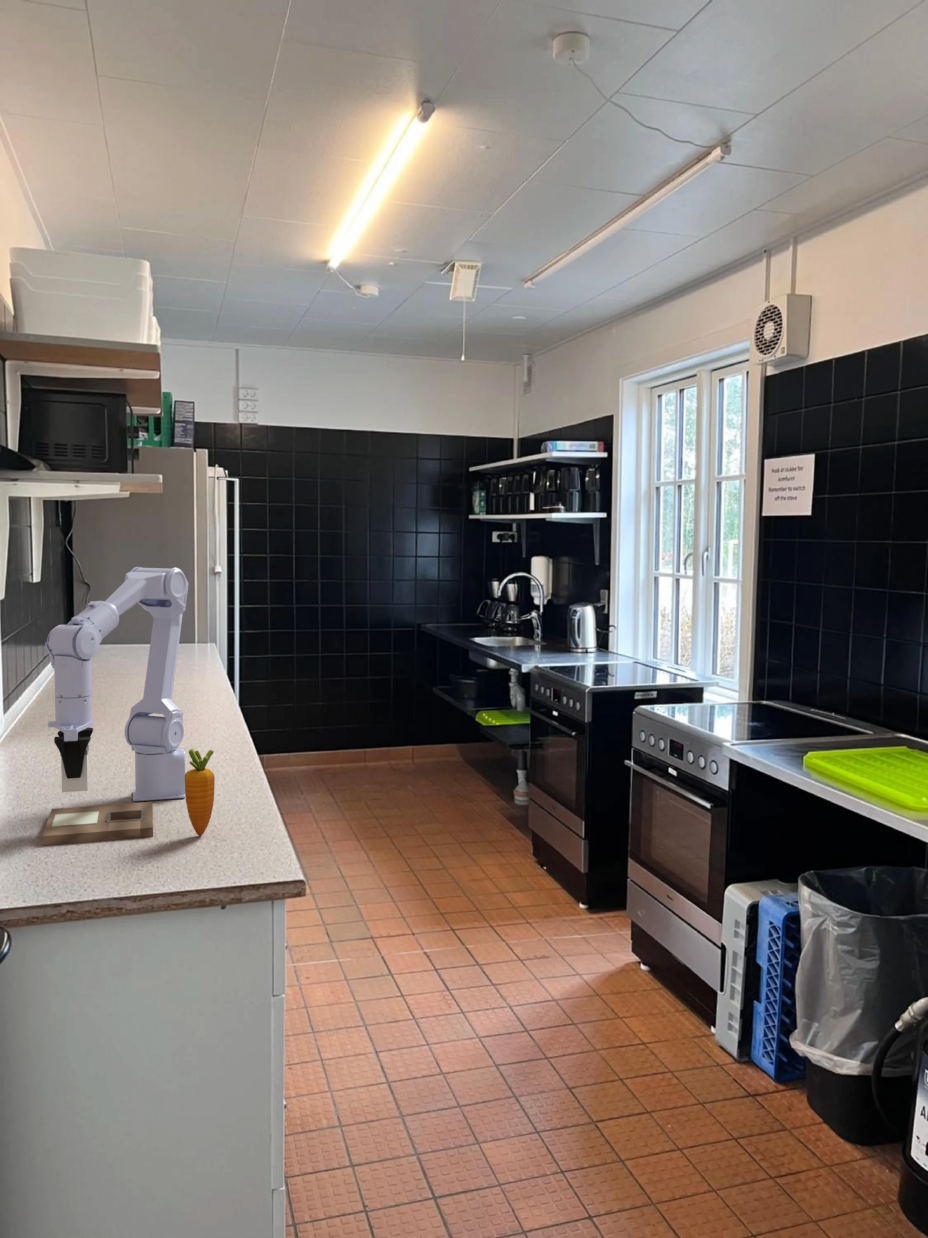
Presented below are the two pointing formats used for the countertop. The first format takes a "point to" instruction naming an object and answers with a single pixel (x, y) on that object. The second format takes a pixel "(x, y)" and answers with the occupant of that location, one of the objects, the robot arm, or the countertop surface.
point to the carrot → (199, 791)
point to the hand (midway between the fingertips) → (74, 774)
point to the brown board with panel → (98, 823)
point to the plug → (76, 783)
